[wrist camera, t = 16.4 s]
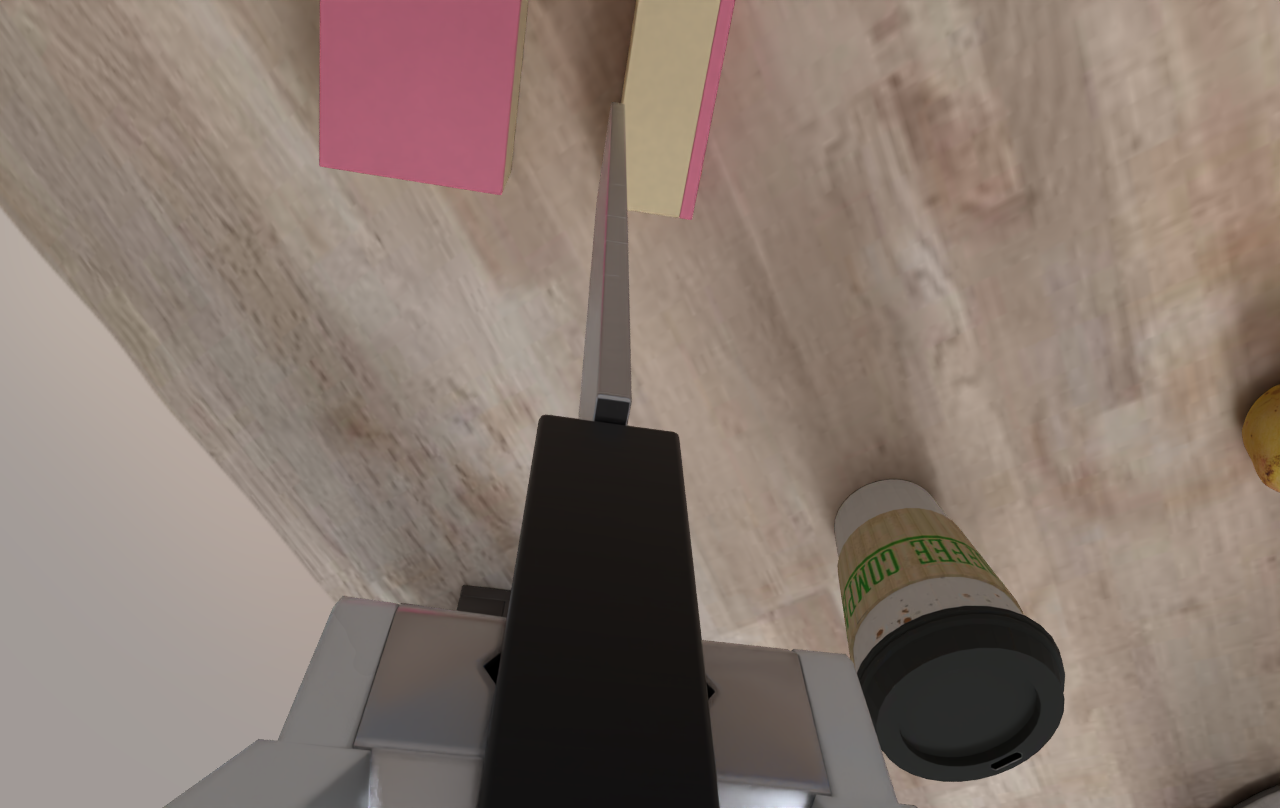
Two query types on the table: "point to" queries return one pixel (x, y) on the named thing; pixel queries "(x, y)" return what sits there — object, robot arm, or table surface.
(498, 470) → the table surface
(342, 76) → the cake
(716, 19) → the cake slice
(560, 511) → the knife
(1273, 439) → the fruit
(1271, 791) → the planter
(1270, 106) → the table surface
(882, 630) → the coffee cup
